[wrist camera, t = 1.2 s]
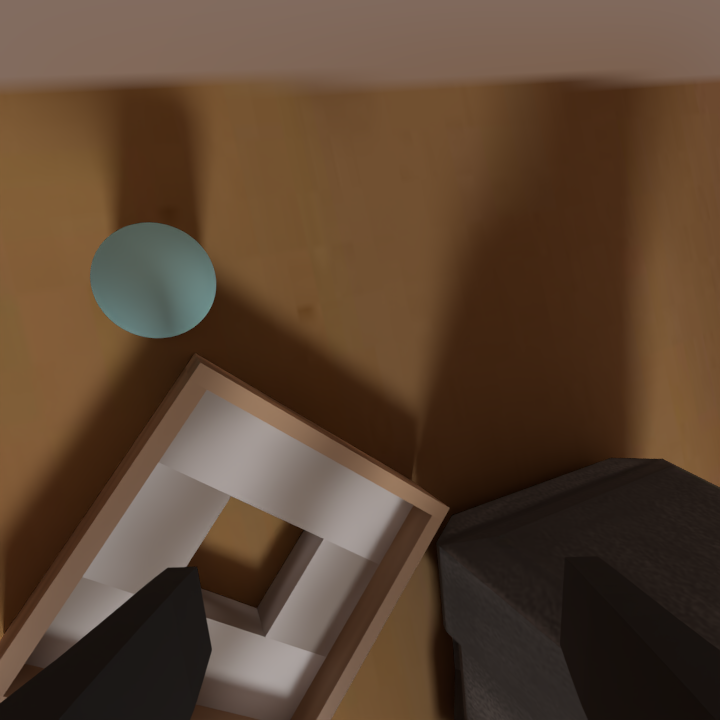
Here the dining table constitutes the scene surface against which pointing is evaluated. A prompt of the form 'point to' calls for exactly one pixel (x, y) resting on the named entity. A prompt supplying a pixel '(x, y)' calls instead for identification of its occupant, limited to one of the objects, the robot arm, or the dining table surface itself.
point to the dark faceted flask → (546, 573)
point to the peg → (153, 280)
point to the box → (194, 520)
